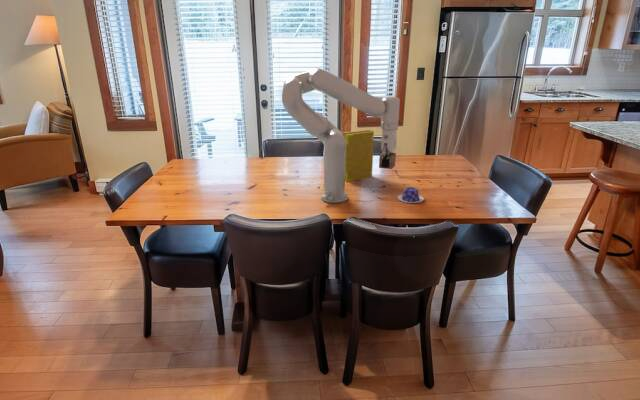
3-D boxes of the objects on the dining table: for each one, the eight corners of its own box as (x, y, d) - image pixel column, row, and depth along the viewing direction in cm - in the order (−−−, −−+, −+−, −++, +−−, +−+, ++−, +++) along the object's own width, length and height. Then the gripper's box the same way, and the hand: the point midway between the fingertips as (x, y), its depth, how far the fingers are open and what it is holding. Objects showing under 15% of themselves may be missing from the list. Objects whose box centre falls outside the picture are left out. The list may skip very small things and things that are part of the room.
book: (346, 181, 197) (346, 134, 187) (340, 178, 203) (341, 132, 193) (374, 177, 203) (376, 132, 193) (368, 174, 208) (369, 129, 199)
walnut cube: (391, 169, 167) (392, 156, 165) (378, 167, 170) (379, 154, 168) (395, 165, 173) (395, 153, 170) (382, 164, 175) (383, 151, 173)
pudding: (393, 201, 171) (394, 191, 169) (401, 193, 181) (402, 183, 179) (419, 206, 165) (421, 195, 163) (426, 197, 175) (427, 187, 173)
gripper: (393, 130, 155) (390, 171, 162) (402, 123, 170) (399, 161, 177) (375, 128, 158) (373, 169, 165) (386, 122, 173) (384, 159, 180)
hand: (387, 164), depth 171 cm, fingers closed on walnut cube, 6 cm apart
